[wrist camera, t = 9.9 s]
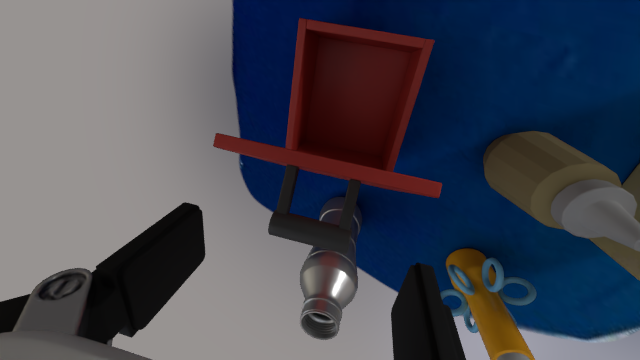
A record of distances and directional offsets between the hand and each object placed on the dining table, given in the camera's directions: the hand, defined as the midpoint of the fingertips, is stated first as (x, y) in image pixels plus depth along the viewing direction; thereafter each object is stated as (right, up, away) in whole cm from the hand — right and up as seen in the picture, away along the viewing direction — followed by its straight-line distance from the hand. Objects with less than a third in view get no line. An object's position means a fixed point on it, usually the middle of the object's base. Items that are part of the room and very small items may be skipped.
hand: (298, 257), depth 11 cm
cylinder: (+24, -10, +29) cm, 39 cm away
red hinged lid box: (+5, +14, +22) cm, 27 cm away
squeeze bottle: (+25, +7, +21) cm, 34 cm away
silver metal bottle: (+5, -1, +29) cm, 30 cm away
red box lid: (+2, +5, +10) cm, 11 cm away
